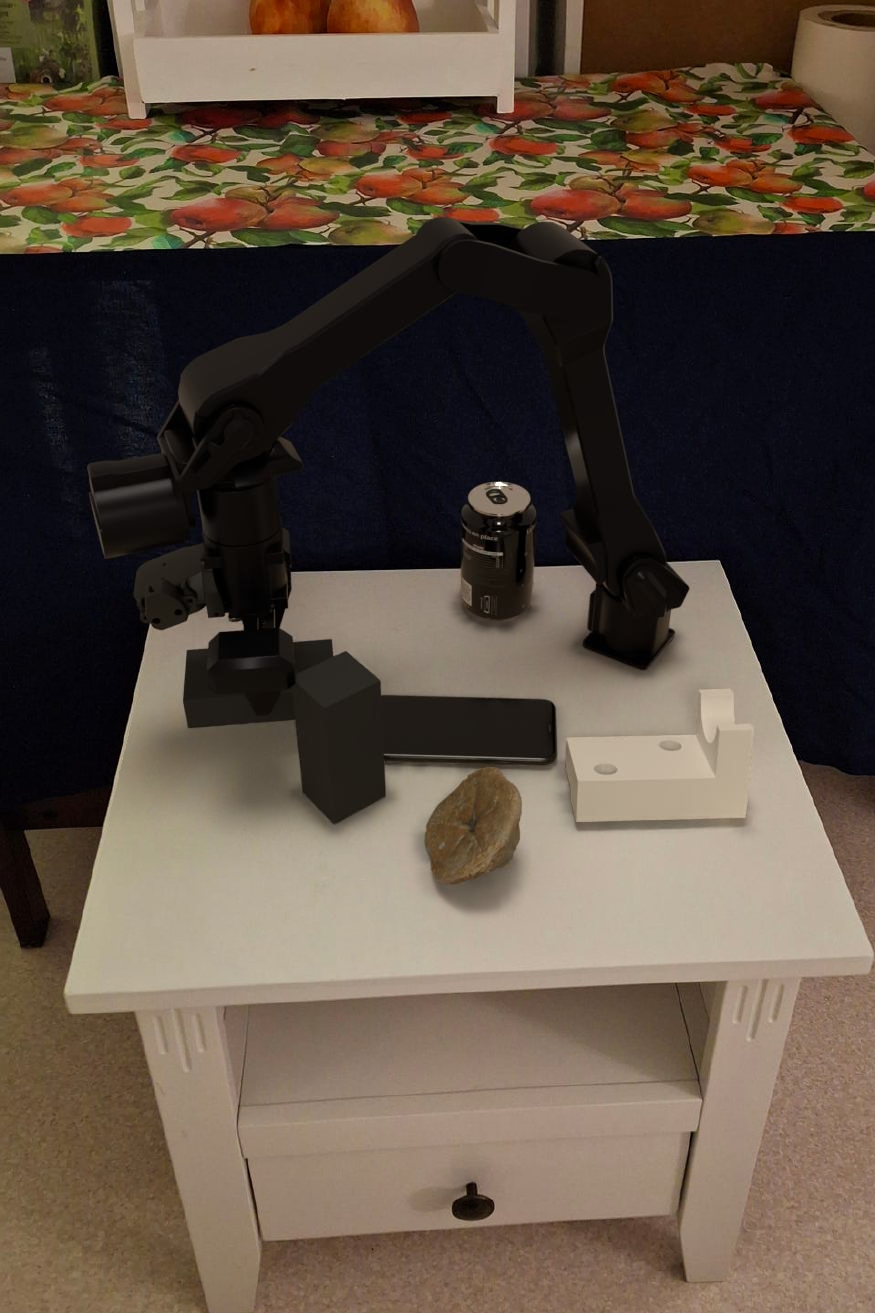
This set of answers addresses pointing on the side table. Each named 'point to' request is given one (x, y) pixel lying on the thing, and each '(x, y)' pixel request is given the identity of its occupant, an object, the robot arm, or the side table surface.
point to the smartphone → (469, 730)
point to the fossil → (474, 827)
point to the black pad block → (340, 736)
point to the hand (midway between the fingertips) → (262, 687)
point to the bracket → (665, 770)
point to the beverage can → (497, 551)
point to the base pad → (235, 708)
